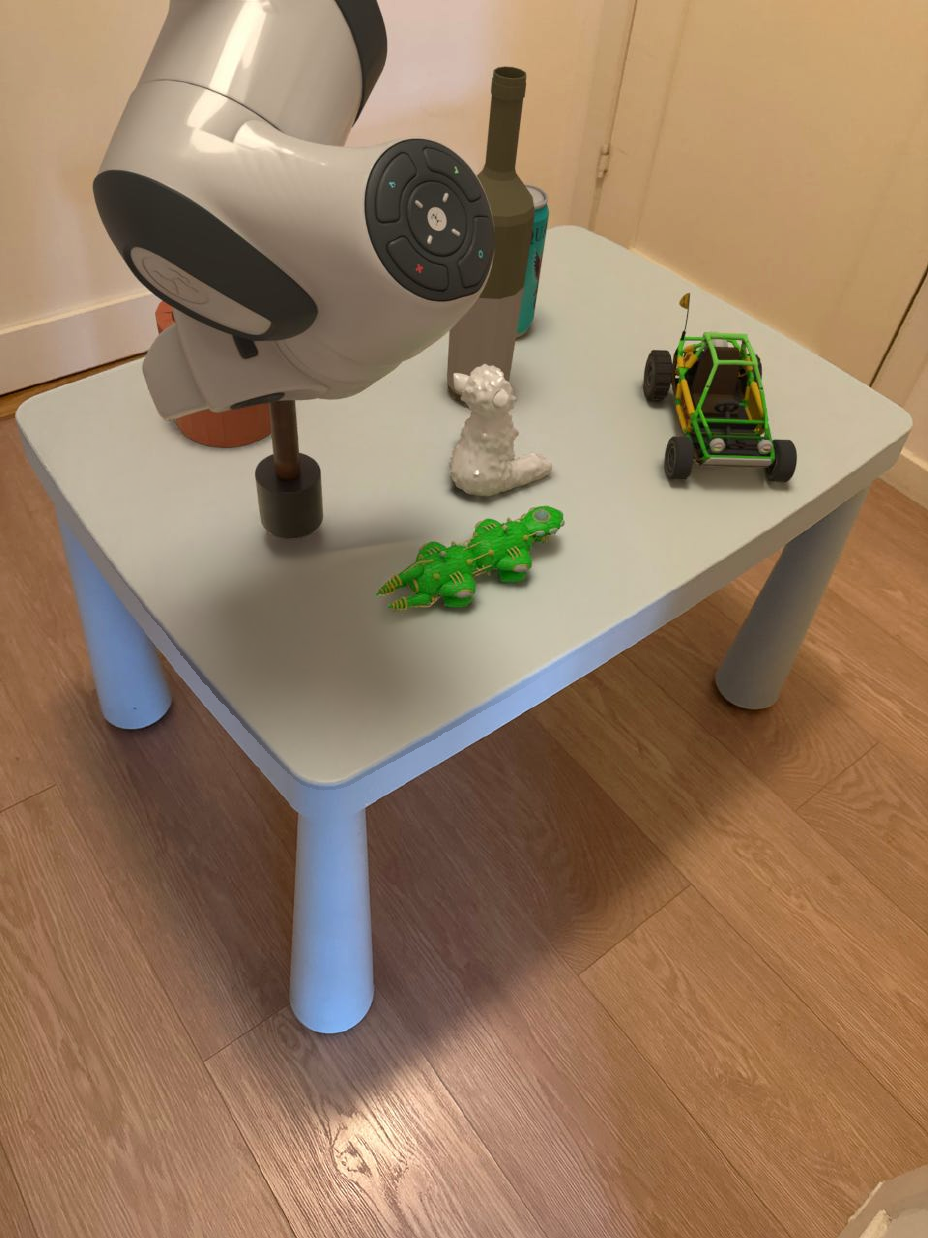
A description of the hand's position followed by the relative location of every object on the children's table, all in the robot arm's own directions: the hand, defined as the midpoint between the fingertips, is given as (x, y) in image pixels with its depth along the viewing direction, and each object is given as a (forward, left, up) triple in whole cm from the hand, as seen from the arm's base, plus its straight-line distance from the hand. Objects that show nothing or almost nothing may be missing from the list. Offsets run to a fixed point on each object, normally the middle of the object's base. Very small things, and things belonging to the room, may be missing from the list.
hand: (275, 374), depth 68 cm
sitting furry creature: (+19, +3, -16) cm, 25 cm away
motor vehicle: (+43, +5, -16) cm, 47 cm away
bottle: (+22, +16, -16) cm, 32 cm away
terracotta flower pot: (-3, +17, -16) cm, 24 cm away
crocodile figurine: (+14, -8, -16) cm, 23 cm away
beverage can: (+29, +27, -16) cm, 43 cm away
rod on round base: (0, -1, -14) cm, 14 cm away
